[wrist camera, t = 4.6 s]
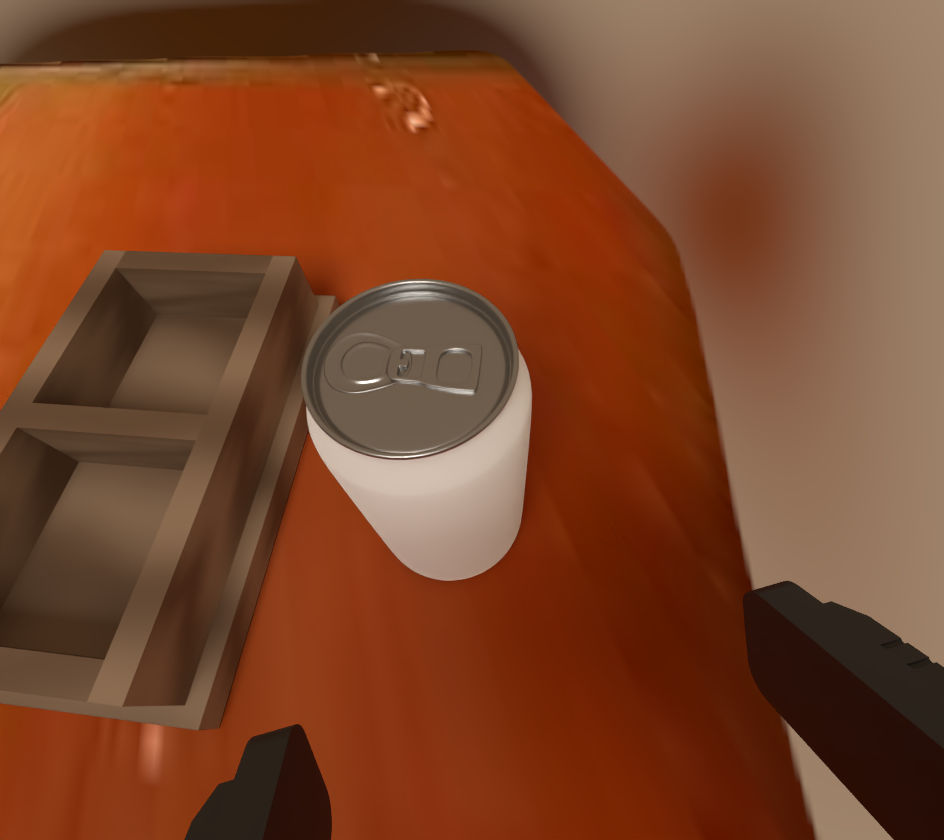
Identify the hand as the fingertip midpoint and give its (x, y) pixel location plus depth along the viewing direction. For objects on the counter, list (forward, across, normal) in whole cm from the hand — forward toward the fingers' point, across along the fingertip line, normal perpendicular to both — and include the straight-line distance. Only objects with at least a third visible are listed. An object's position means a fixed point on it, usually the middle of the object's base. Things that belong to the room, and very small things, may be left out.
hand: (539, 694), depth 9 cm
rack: (+18, -14, +1) cm, 23 cm away
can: (+14, -1, -3) cm, 15 cm away
